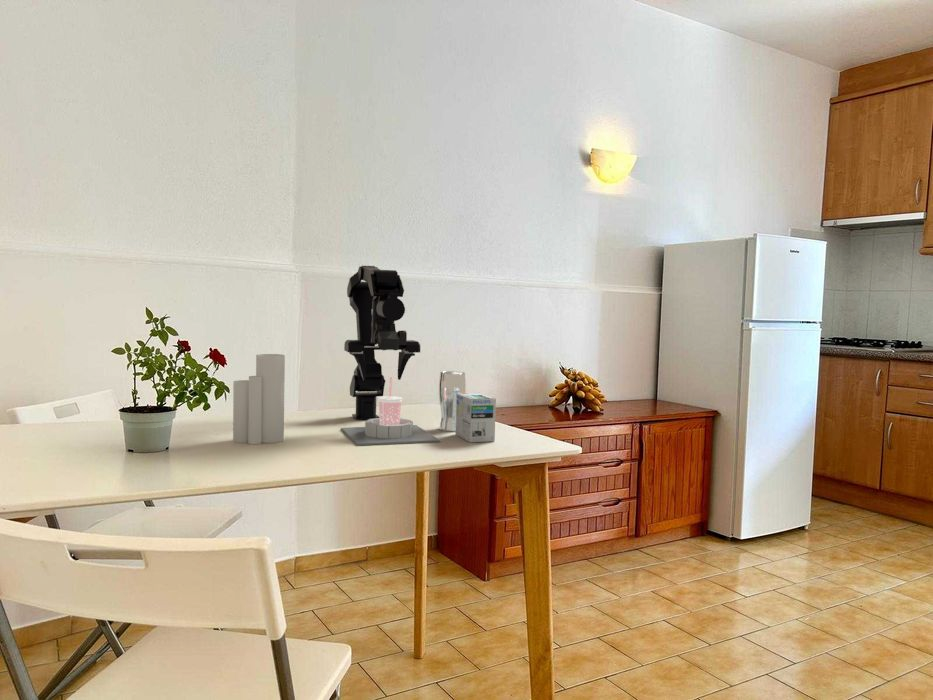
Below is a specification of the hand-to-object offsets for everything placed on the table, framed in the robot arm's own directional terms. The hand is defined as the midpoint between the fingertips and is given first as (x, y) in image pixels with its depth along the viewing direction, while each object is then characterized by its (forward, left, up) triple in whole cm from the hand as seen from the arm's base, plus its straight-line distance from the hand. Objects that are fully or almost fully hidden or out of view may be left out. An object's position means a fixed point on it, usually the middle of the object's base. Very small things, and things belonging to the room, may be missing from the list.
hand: (381, 379), depth 188 cm
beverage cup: (+8, 0, -13) cm, 15 cm away
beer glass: (+4, +18, -13) cm, 23 cm away
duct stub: (+9, 0, -13) cm, 15 cm away
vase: (+9, -31, -13) cm, 35 cm away
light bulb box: (+16, +20, -13) cm, 29 cm away
